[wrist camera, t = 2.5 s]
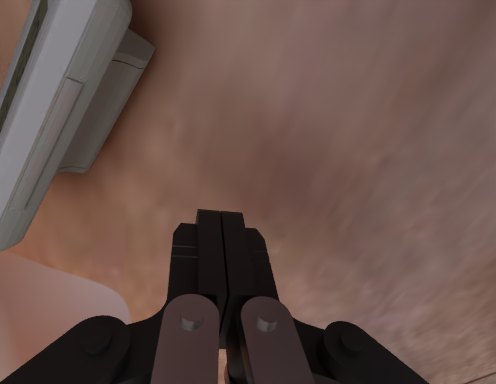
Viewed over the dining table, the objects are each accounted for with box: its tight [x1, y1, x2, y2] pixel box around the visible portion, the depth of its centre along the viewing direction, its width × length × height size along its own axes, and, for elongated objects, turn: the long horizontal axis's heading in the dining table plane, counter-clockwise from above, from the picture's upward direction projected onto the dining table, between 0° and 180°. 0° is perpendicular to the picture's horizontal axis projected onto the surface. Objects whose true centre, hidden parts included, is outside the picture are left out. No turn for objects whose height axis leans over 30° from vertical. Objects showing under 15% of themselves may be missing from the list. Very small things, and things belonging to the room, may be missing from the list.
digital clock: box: [0, 0, 155, 251], centre depth 19 cm, size 16×9×11 cm, turn 132°
